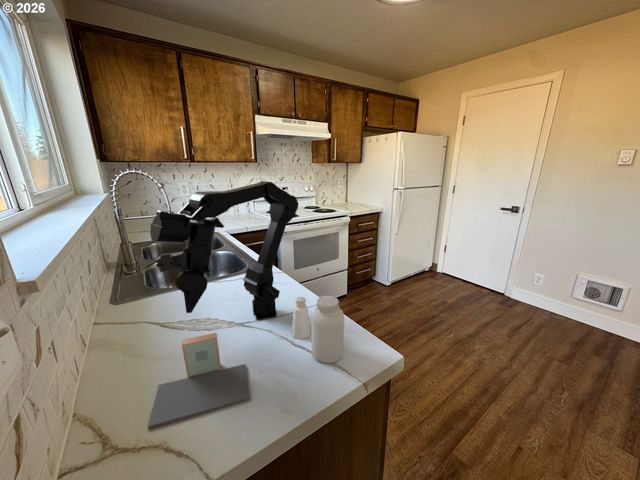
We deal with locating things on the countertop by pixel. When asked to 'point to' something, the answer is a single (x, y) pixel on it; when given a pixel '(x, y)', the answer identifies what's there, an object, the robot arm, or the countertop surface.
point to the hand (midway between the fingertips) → (191, 305)
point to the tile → (201, 354)
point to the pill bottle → (327, 330)
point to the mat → (199, 395)
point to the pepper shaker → (301, 319)
